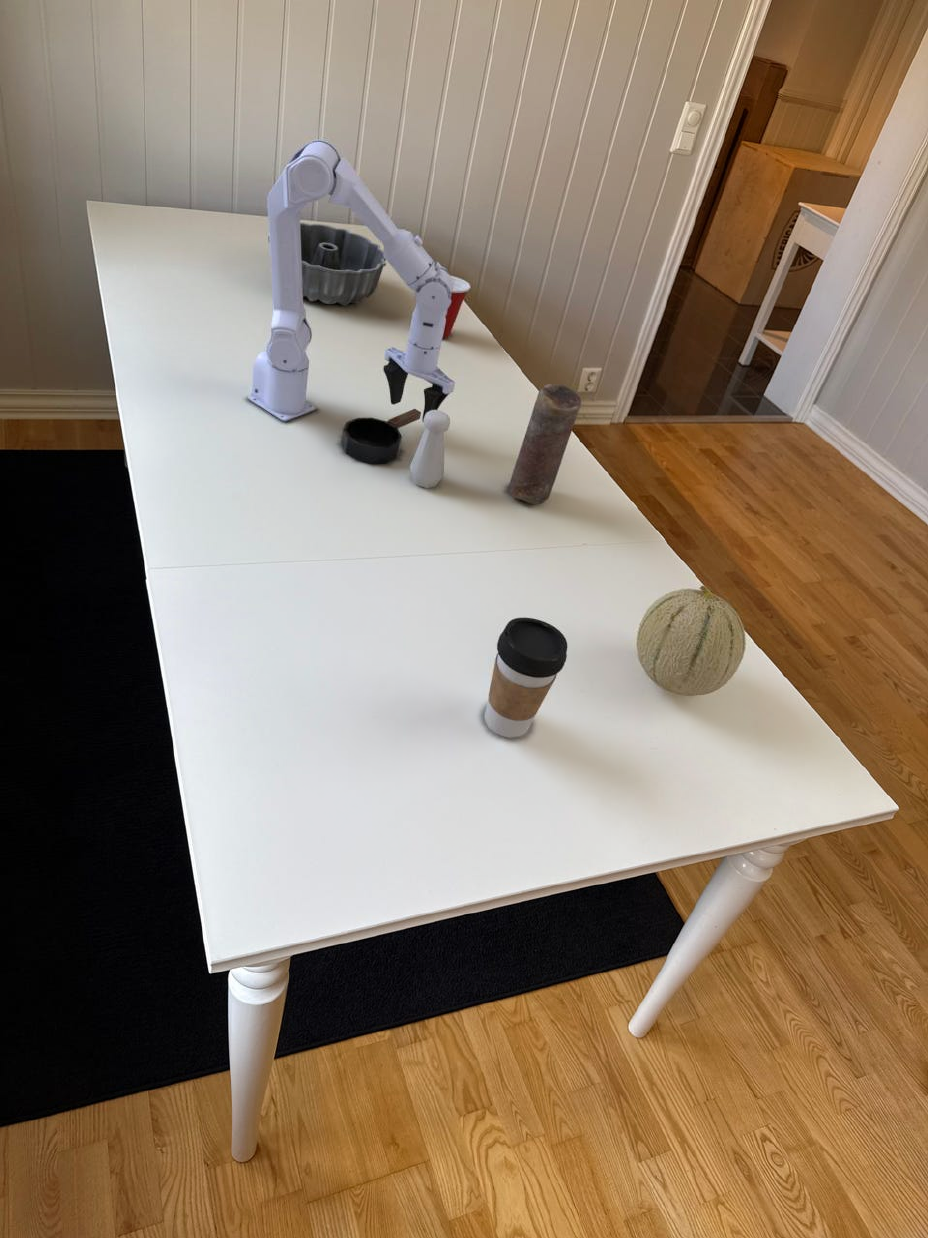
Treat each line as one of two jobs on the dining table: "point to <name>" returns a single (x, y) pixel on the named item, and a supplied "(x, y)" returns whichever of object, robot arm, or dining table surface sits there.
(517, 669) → the coffee cup
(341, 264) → the bundt pan
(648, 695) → the dining table surface
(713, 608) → the cantaloupe
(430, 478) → the salt shaker
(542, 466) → the candle
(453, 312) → the plastic cup
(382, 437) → the pan
